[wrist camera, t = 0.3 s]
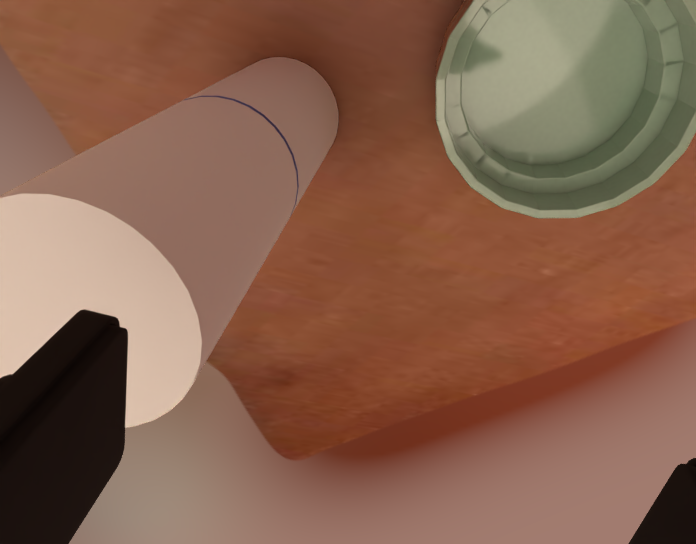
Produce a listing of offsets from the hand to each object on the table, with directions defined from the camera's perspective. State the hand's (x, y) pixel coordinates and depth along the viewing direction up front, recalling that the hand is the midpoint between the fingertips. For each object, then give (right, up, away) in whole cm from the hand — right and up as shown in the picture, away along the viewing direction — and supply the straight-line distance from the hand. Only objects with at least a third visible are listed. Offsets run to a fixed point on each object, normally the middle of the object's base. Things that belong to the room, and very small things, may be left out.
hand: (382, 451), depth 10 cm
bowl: (+11, +14, +25) cm, 31 cm away
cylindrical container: (-5, +13, +28) cm, 31 cm away
